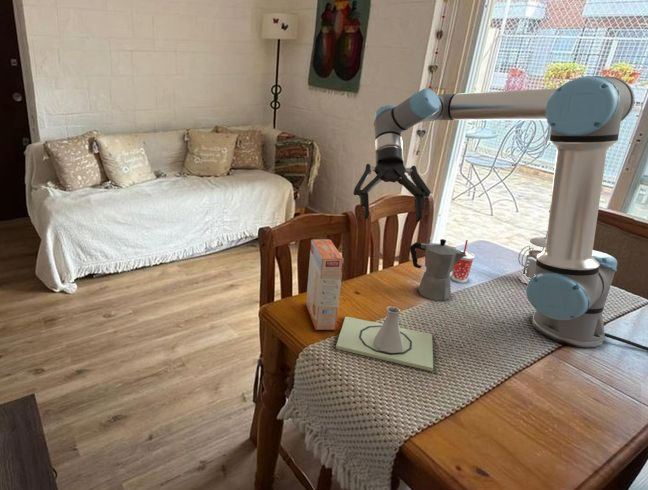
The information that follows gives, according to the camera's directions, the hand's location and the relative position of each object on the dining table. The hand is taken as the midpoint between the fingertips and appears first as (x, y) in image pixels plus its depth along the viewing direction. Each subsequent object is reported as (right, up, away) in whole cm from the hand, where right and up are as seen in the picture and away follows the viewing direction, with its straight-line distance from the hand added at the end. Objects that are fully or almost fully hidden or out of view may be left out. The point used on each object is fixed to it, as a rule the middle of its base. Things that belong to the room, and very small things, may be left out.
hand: (392, 218), depth 119 cm
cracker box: (-19, -28, +4) cm, 34 cm away
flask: (-5, -32, -10) cm, 34 cm away
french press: (+56, -21, +26) cm, 65 cm away
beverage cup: (+32, -21, +27) cm, 47 cm away
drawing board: (-5, -32, -8) cm, 33 cm away
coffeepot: (+19, -23, +18) cm, 35 cm away
